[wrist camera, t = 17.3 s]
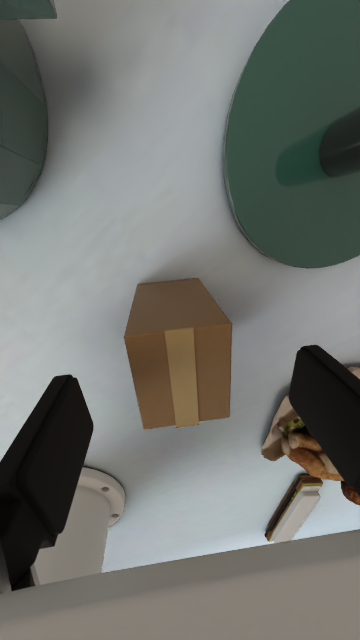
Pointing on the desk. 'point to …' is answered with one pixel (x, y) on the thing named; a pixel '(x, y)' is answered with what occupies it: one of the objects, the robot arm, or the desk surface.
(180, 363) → the package
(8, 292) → the desk surface
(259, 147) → the pot lid
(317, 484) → the harmonica
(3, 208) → the pot
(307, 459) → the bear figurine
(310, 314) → the desk surface
